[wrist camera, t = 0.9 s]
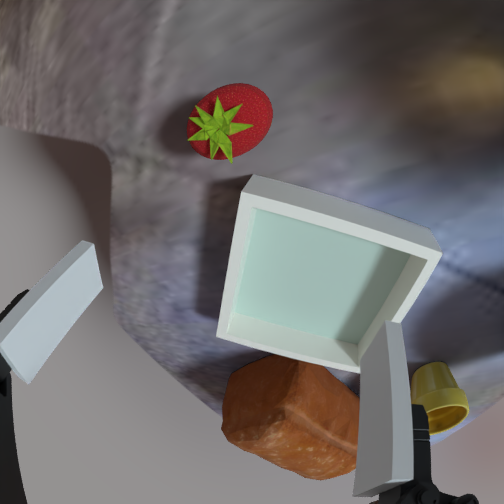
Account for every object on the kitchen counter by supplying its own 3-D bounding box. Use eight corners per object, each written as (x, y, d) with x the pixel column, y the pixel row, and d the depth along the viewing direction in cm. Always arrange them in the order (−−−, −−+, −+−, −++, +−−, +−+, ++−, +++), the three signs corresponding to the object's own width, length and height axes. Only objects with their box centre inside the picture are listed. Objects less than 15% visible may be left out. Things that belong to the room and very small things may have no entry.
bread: (305, 426, 57) (295, 487, 45) (224, 371, 51) (198, 443, 39) (376, 406, 49) (375, 476, 36) (301, 339, 42) (286, 432, 30)
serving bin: (253, 174, 31) (241, 191, 26) (429, 228, 29) (443, 253, 25) (226, 310, 42) (216, 336, 38) (361, 346, 40) (362, 373, 36)
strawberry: (294, 119, 27) (280, 139, 18) (231, 157, 30) (193, 192, 22) (259, 69, 25) (229, 65, 16) (198, 111, 28) (147, 129, 20)
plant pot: (452, 344, 37) (465, 397, 29) (462, 375, 40) (472, 421, 32) (393, 368, 42) (397, 421, 34) (410, 395, 45) (414, 441, 37)
